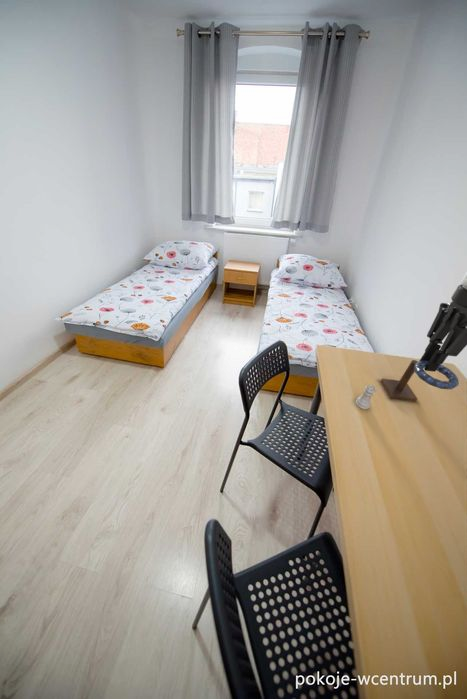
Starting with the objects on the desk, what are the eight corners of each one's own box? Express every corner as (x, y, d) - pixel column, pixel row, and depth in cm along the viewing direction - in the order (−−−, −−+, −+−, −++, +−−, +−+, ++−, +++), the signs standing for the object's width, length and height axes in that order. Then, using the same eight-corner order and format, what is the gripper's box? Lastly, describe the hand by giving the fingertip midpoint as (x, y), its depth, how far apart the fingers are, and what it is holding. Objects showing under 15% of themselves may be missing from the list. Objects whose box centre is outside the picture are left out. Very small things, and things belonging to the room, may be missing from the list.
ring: (440, 366, 80) (444, 360, 78) (464, 392, 71) (469, 386, 70) (406, 363, 79) (409, 357, 78) (426, 389, 71) (430, 383, 69)
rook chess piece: (352, 403, 92) (361, 385, 88) (359, 398, 95) (368, 380, 90) (364, 411, 90) (374, 394, 85) (371, 406, 92) (381, 388, 87)
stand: (403, 384, 104) (422, 355, 96) (415, 401, 96) (436, 372, 88) (380, 381, 103) (396, 352, 96) (390, 398, 96) (408, 369, 88)
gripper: (443, 275, 71) (401, 349, 84) (485, 302, 58) (428, 384, 72) (471, 278, 71) (425, 352, 85) (519, 305, 58) (456, 386, 72)
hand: (426, 366), depth 78 cm, fingers closed on ring, 2 cm apart
